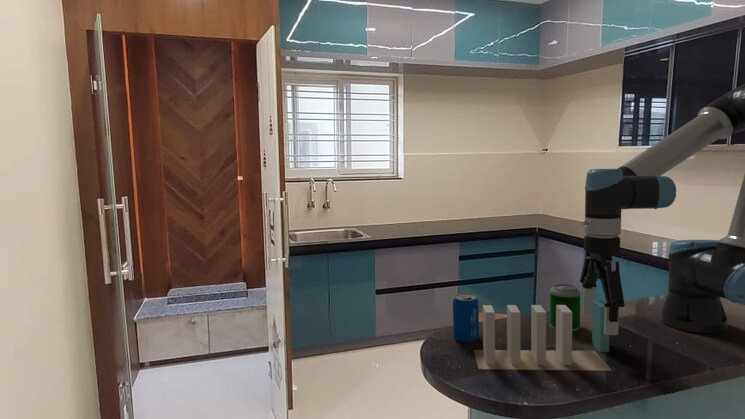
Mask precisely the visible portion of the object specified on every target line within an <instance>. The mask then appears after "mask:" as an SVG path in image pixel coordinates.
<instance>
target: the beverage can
mask: <svg viewBox="0 0 745 419" xmlns="http://www.w3.org/2000/svg"><path fill="white" fill-rule="evenodd" d="M477 298H478V296H477V295H475V294H473V293H465V292H463V293H457V294H455V295H454V297H453V299H452V322H453V323H452V324H453V325H452V326H453V339H454V340H456V341H458V342H462V343H473V342H474V343H475V342H476V341H478V340H479V339H480V329H479V328H480V321H479V319H480V318H479V317H480V316H479V314H480V313H479V310H480V309H479V300H478V299H477Z"/></svg>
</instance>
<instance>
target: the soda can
mask: <svg viewBox="0 0 745 419" xmlns="http://www.w3.org/2000/svg"><path fill="white" fill-rule="evenodd" d="M556 305H566V306H567V307H568V308H569V309H570V310H571V311H572V332H573V331H578V330H580V329H581V291H580V289H579V288H578V287H577V286H576V285H572V284H568V283H558V284H554V285H553V286H552V287H551V288H550V289H549V327H550V328H553V329H554V330H556Z"/></svg>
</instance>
